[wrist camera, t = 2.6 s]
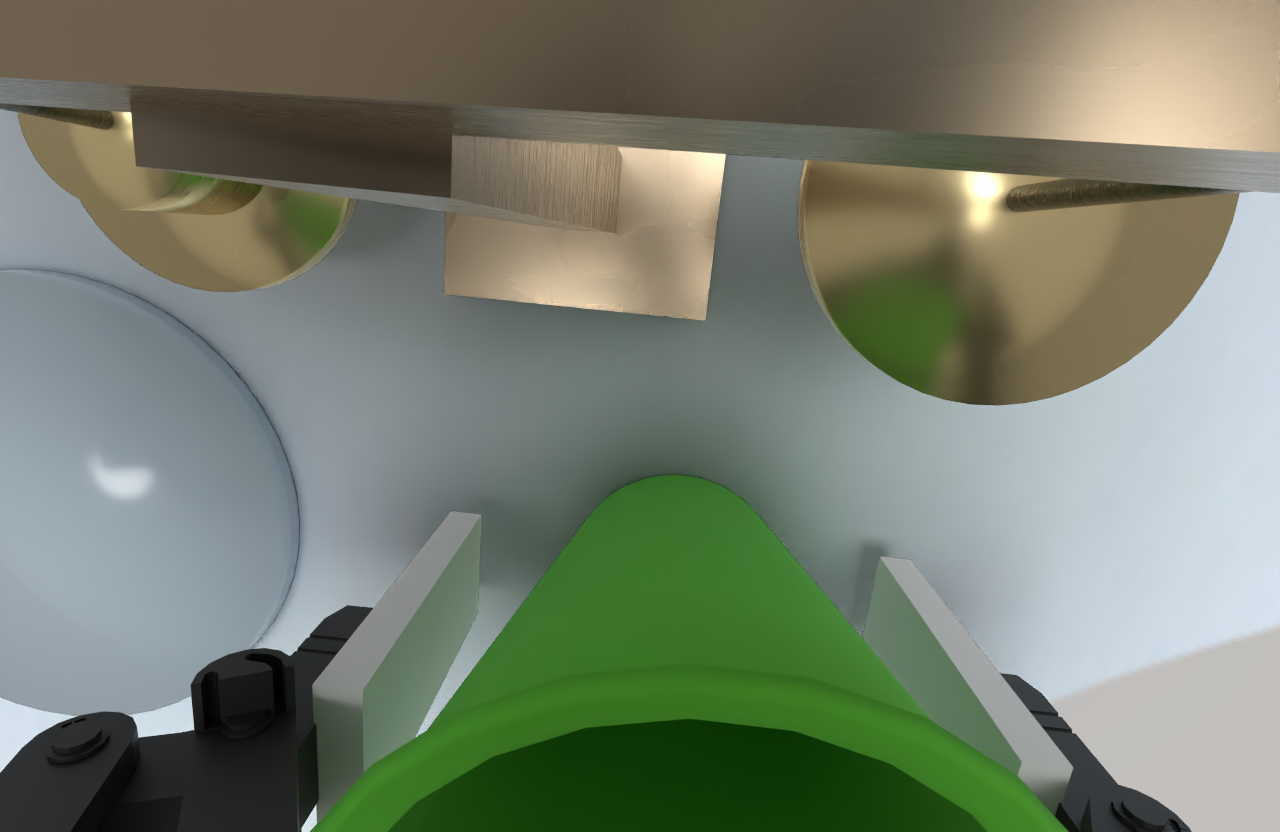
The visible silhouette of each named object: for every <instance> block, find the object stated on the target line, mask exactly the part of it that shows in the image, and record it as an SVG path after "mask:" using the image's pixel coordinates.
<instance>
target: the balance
mask: <svg viewBox="0 0 1280 832" xmlns="http://www.w3.org/2000/svg"><path fill="white" fill-rule="evenodd" d="M0 109H3V110H8V111H13V112H17V113H18V118H19V123H20V126H21V129H22V132H23V135H24V137H25V140H26V142H27V144H28V146H29V148H30V150H31V152H32V154H33V155H34V157H35V159H36V160H37V161H38V163H39V164H40V166H41V167H42V168H43V169H44V171H45V172H46V173H47V174H48V175H49V176H50V177H51V178H52V179H53V180H54V181H55V182H56V183H57V184H58V185H59V186H61V187H62V188H63V189H65V190H66V191H67V192H69V193H70V194H72V195H74V196H75V197H77V198H79V199H80V201H81V203H82V205H83V206H84V208H85V209H86V211H87V212H88V213H89V215H90V216H91V218H92V219H93V221H94V222H95V223H96V224H97V226H98V227H99V228H100V229H101V230H102V231H103V232H104V234H105V235H106V236H107V237H108V238H109V239H110V240H111V241H112V242H113V243H114V244H115V245H116V246H117V247H118V248H120V249H121V250H122V251H123V252H124V253H125V254H126V255H128V256H129V257H130V258H132V259H133V260H135V261H136V262H137V263H139V264H140V265H141V266H143V267H145V268H147V269H148V270H150V271H152V272H153V273H155V274H157V275H159V276H161V277H163V278H166V279H168V280H170V281H173V282H175V283H178V284H181V285H185V286H188V287H191V288H195V289H201V290H207V291H217V292H234V291H244V290H254V289H263V288H268V287H272V286H276V285H280V284H283V283H285V282H287V281H290V280H292V279H295V278H297V277H299V276H300V275H302V274H304V273H305V272H307V271H309V270H310V269H312V268H313V267H314V266H315V265H316V264H318V263H319V262H320V261H321V260H322V259H324V258H325V256H326V255H327V254H328V253H329V252H330V251H331V250H332V249H333V248H334V247H335V245H336V244H337V242H338V241H339V239H340V238H341V236H342V235H343V233H344V232H345V230H346V228H347V226H348V224H349V222H350V219H351V217H352V215H353V212H354V209H355V206H356V203H357V200H358V199H361V200H367V201H374V202H381V203H388V204H394V205H401V206H408V207H415V208H422V209H428V210H435V211H442V212H446V216H445V264H444V294H449V295H458V296H468V297H478V298H488V299H497V300H507V301H517V302H527V303H537V304H546V305H556V306H566V307H576V308H585V309H595V310H605V311H615V312H625V313H634V314H644V315H654V316H664V317H673V318H683V319H693V320H703V321H705V320H706V312H707V304H708V295H709V287H710V279H711V271H712V263H713V255H714V247H715V239H716V230H717V222H718V214H719V206H720V198H721V190H722V182H723V173H724V165H725V157H726V154H730V155H744V156H759V157H773V158H787V159H802V160H804V164H803V169H802V174H801V178H800V184H799V196H798V207H797V215H798V237H799V243H800V249H801V255H802V261H803V264H804V268H805V271H806V274H807V277H808V281H809V284H810V287H811V289H812V291H813V293H814V295H815V297H816V299H817V302H818V304H819V306H820V308H821V310H822V311H823V313H824V314H825V316H826V317H827V319H828V320H829V322H830V323H831V325H832V327H833V328H834V329H835V330H836V332H837V333H838V334H839V335H840V336H841V337H842V338H843V340H844V341H845V342H846V343H847V344H848V345H849V346H850V347H851V348H852V349H853V350H854V351H855V352H856V353H858V354H859V355H860V356H861V357H862V358H863V359H865V360H866V361H867V362H868V363H870V364H871V365H873V366H874V367H876V368H878V369H879V370H881V371H882V372H884V373H885V374H887V375H889V376H890V377H892V378H894V379H895V380H897V381H899V382H901V383H903V384H905V385H907V386H909V387H911V388H914V389H916V390H918V391H920V392H922V393H925V394H928V395H932V396H935V397H938V398H941V399H945V400H949V401H955V402H961V403H967V404H976V405H1008V404H1019V403H1027V402H1032V401H1037V400H1041V399H1046V398H1051V397H1054V396H1057V395H1060V394H1063V393H1066V392H1069V391H1072V390H1075V389H1078V388H1080V387H1082V386H1084V385H1086V384H1088V383H1091V382H1093V381H1095V380H1097V379H1099V378H1101V377H1103V376H1105V375H1107V374H1108V373H1110V372H1111V371H1113V370H1115V369H1116V368H1118V367H1120V366H1121V365H1123V364H1125V363H1126V362H1128V361H1129V360H1130V359H1132V358H1133V357H1134V356H1136V355H1137V354H1138V353H1140V352H1141V351H1142V350H1143V349H1145V348H1146V347H1147V346H1149V345H1150V344H1151V343H1152V342H1153V341H1154V340H1155V339H1156V338H1157V337H1158V336H1159V335H1161V334H1162V333H1163V332H1164V331H1165V330H1166V329H1167V328H1168V327H1169V326H1170V325H1171V324H1172V323H1173V322H1174V321H1175V319H1176V318H1177V317H1178V316H1179V315H1180V313H1181V312H1182V311H1183V310H1184V309H1185V307H1186V306H1187V305H1188V304H1189V303H1190V302H1191V300H1192V299H1193V297H1194V296H1195V294H1196V293H1197V291H1198V290H1199V288H1200V287H1201V285H1202V284H1203V282H1204V281H1205V279H1206V278H1207V276H1208V275H1209V273H1210V271H1211V269H1212V267H1213V265H1214V263H1215V261H1216V259H1217V257H1218V255H1219V253H1220V252H1221V250H1222V247H1223V245H1224V242H1225V239H1226V237H1227V234H1228V232H1229V229H1230V226H1231V224H1232V221H1233V217H1234V213H1235V209H1236V205H1237V201H1238V197H1239V193H1241V192H1252V191H1259V192H1273V193H1280V0H0Z"/></svg>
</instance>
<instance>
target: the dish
mask: <svg viewBox="0 0 1280 832" xmlns="http://www.w3.org/2000/svg"><path fill="white" fill-rule="evenodd" d="M298 550H299V514H298V505H297V496H296V491H295V487H294V483H293V479H292V475H291V471H290V467H289V465H288V462H287V459H286V457H285V454H284V451H283V449H282V446H281V444H280V441H279V439H278V437H277V435H276V433H275V431H274V429H273V427H272V425H271V424H270V422H269V420H268V418H267V416H266V414H265V412H264V411H263V409H262V408H261V406H260V405H259V403H258V402H257V400H256V399H255V397H254V396H253V395H252V393H251V392H250V390H249V389H248V387H247V386H246V384H245V383H244V382H243V381H242V380H241V379H240V378H239V376H238V375H237V374H236V373H235V372H234V371H233V369H232V368H231V367H230V366H229V365H228V364H227V363H226V361H225V360H224V359H223V358H222V357H221V356H220V355H218V354H217V353H216V352H215V351H214V350H213V349H212V348H211V347H210V346H209V345H208V344H207V343H205V342H204V341H203V340H202V339H201V338H200V337H199V336H198V335H196V334H195V333H194V332H192V331H191V330H189V329H188V328H187V327H185V326H184V325H183V324H181V323H180V322H179V321H177V320H176V319H175V318H173V317H172V316H170V315H168V314H167V313H165V312H163V311H162V310H160V309H158V308H156V307H155V306H153V305H151V304H149V303H148V302H146V301H144V300H143V299H140V298H138V297H136V296H134V295H131V294H129V293H127V292H124V291H122V290H120V289H117V288H115V287H113V286H110V285H107V284H104V283H100V282H97V281H94V280H90V279H87V278H84V277H80V276H76V275H70V274H64V273H58V272H52V271H41V270H0V697H1V698H4V699H6V700H9V701H11V702H14V703H17V704H21V705H24V706H28V707H32V708H35V709H39V710H43V711H48V712H54V713H60V714H66V715H72V716H80V715H84V714H90V713H96V712H102V711H107V712H121V713H124V714H126V715H131V714H137V713H142V712H147V711H153V710H156V709H159V708H162V707H165V706H168V705H171V704H174V703H177V702H179V701H181V700H183V699H185V698H187V697H189V696H191V683H192V681H193V680H194V678H195V676H196V674H197V673H198V672H199V671H201V670H202V669H203V668H204V667H206V666H207V665H208V664H209V663H211V662H213V661H215V660H217V659H219V658H221V657H223V656H226V655H228V654H232V653H236V652H239V651H243V650H248V649H250V648H251V647H252V646H253V645H254V644H255V643H256V642H257V641H258V640H259V639H260V638H261V637H262V635H263V634H264V633H265V631H266V630H267V629H268V628H269V626H270V625H271V624H272V622H273V621H274V620H275V618H276V616H277V614H278V612H279V610H280V608H281V607H282V605H283V603H284V601H285V599H286V597H287V594H288V591H289V588H290V585H291V582H292V579H293V576H294V572H295V567H296V561H297V556H298Z"/></svg>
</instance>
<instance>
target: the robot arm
mask: <svg viewBox="0 0 1280 832" xmlns="http://www.w3.org/2000/svg"><path fill="white" fill-rule="evenodd" d="M481 523H482V514H474V513H464V512H455V511H451V512H450V513H449V514H448V516H447V517H446V518H445V519H444V521H443V522H442V523H441V524H440V526H439V527H438V528H437V529H436V531H435V532H434V533H433V534H432V536H431V537H430V538H429V539H428V541H427V542H426V543H425V544H424V546H423V547H422V548H421V549H420V551H419V552H418V553H417V554H416V556H415V557H414V558H413V559H412V561H411V562H410V563H409V564H408V566H407V567H406V568H405V569H404V571H403V572H402V573H401V574H400V576H399V577H398V578H397V580H396V581H395V582H394V583H393V585H392V586H391V587H390V588H389V590H388V591H387V592H386V593H385V595H384V596H383V597H382V598H381V600H380V601H379V602H378V603H377V605H376V606H375V607H374V608H368V607H358V606H349V605H348V606H346V607H344V608H342V609H340V610H339V611H337V612H335V613H333V614H332V615H330V616H328V617H326V618H325V619H324V620H323V621H322V622H321V623H320V624H319V625H318V626H317V628H316V629H315V630H314V631H313V632H312V633H311V634H310V637H309V638H307V639H306V640H305V641H304V642H303V643H302V644H301V645H300V646H299V647H298V650H297V652H296V651H295V652H294V653H293V654H292V655H291V656H288V655H287V654H285V653H283V652H282V651H279V650H273V649H267V648H261V649H248V650H243V651H239V652H236V653H232V654H228V655H226V656H223V657H221V658H219V659H217V660H215V661H213V662H211V663H209V664H208V665H207V666H206V667H204V668H203V669H202V670H201V671H199V672H198V673H197V674H196V676H195V678H194V680H193V681H192V683H191V696H192V707H193V718H194V729H195V730H192V731H187V732H182V733H174V734H166V735H157V736H149V737H141V738H138V732H137V726H136V724H135V722H134V719H133V718H132V717H130V716H128V715H126V714H124V713H121V712H107V711H102V712H96V713H90V714H84V715H80V716H77V717H74V718H72V719H68V720H66V721H63V722H60V723H58V724H56V725H54V726H52V727H51V728H49V729H47V730H45V731H43V732H41V733H40V734H38V735H37V736H36V737H34V738H33V739H32V740H31V741H30V742H29V743H27V744H26V745H25V746H24V747H23V748H22V749H21V750H20V751H19V752H18V753H17V754H16V756H15V757H14V758H13V759H12V760H11V761H10V762H9V764H8V765H7V766H6V767H5V768H4V769H3V770H2V772H1V773H0V832H301V828H302V826H303V825H304V823H305V821H306V820H307V818H308V817H309V815H310V813H311V812H312V810H313V809H314V807H315V805H316V807H317V823H318V822H319V821H320V820H321V819H322V818H323V817H324V816H325V815H326V814H327V813H328V812H329V811H330V809H331V808H332V807H333V806H334V805H335V804H336V803H337V802H338V801H339V800H340V799H341V798H342V796H343V795H344V794H345V793H346V792H347V791H348V790H349V789H350V788H351V787H352V786H353V785H354V784H355V782H356V781H357V780H358V779H359V778H360V777H361V776H362V775H363V774H364V773H365V772H366V771H367V770H368V768H369V767H370V766H371V765H372V764H374V763H375V762H377V761H379V760H380V759H382V758H383V757H385V756H387V755H388V754H390V753H392V752H393V751H395V750H396V749H398V748H400V747H401V746H403V745H405V744H406V743H408V742H409V741H411V740H413V739H414V738H415V736H416V734H417V732H418V730H419V728H420V726H421V725H422V723H423V721H424V719H425V717H426V715H427V713H428V711H429V709H430V707H431V705H432V703H433V701H434V699H435V697H436V695H437V693H438V691H439V689H440V687H441V685H442V683H443V681H444V679H445V677H446V675H447V673H448V671H449V669H450V667H451V665H452V663H453V661H454V659H455V657H456V655H457V653H458V651H459V649H460V647H461V645H462V643H463V641H464V640H465V638H466V636H467V634H468V632H469V630H470V628H471V626H472V624H473V622H474V620H475V618H476V616H477V614H478V600H479V574H480V548H481ZM862 639H863V640H864V641H865V642H866V643H867V644H868V646H869V647H870V648H871V649H872V650H873V652H874V653H875V654H876V655H877V656H878V657H879V659H880V660H881V661H882V662H883V663H884V665H885V666H886V667H887V668H888V669H889V671H890V672H891V673H892V674H893V675H894V676H895V678H896V679H897V680H898V681H899V682H900V684H901V685H902V686H903V687H904V688H905V689H906V691H907V692H908V693H909V694H910V695H911V697H912V698H913V699H914V700H915V701H916V703H917V704H918V705H919V706H920V707H921V708H922V710H923V711H924V712H925V713H926V714H927V716H928V717H929V718H930V719H931V720H932V721H933V722H934V723H935V724H937V725H938V726H940V727H942V728H943V729H945V730H946V731H948V732H949V733H951V734H953V735H954V736H956V737H957V738H959V739H960V740H962V741H964V742H965V743H967V744H968V745H970V746H971V747H973V748H975V749H976V750H978V751H979V752H981V753H982V754H984V755H986V756H987V757H989V758H990V759H992V760H993V761H995V762H997V763H998V764H1000V765H1001V766H1003V767H1004V768H1006V769H1008V770H1009V771H1011V772H1012V773H1014V774H1015V775H1017V776H1018V777H1019V778H1020V779H1021V780H1022V781H1023V782H1024V783H1025V784H1026V785H1027V786H1028V788H1029V789H1030V790H1031V791H1032V792H1033V793H1034V794H1035V795H1036V796H1037V797H1038V799H1039V800H1040V801H1041V802H1042V803H1043V804H1044V805H1045V806H1046V807H1047V808H1048V810H1049V811H1050V812H1051V813H1052V814H1053V815H1054V816H1055V817H1056V818H1057V819H1058V821H1059V822H1060V823H1061V824H1062V825H1063V826H1064V827H1065V828H1066V829H1067V830H1068V831H1069V832H1191V830H1190V828H1189V827H1188V826H1187V825H1186V824H1185V823H1184V822H1183V821H1182V820H1181V819H1180V818H1179V817H1178V816H1177V815H1176V814H1175V813H1173V812H1172V811H1171V810H1169V809H1168V808H1167V807H1165V806H1164V805H1162V804H1161V803H1160V802H1158V801H1157V800H1155V799H1153V798H1151V797H1149V796H1147V795H1145V794H1143V793H1141V792H1139V791H1136V790H1133V789H1130V788H1127V787H1124V786H1121V785H1118V784H1117V783H1116V782H1115V780H1114V779H1113V778H1112V777H1111V776H1110V774H1109V773H1108V772H1107V771H1106V770H1105V768H1104V767H1103V766H1102V765H1101V764H1100V763H1099V761H1098V760H1097V759H1096V758H1095V757H1094V755H1093V754H1092V753H1091V752H1090V750H1089V749H1088V748H1087V747H1086V746H1085V745H1084V743H1083V742H1082V741H1081V740H1080V739H1079V737H1078V736H1077V735H1076V734H1073V733H1072V729H1071V728H1070V727H1069V726H1068V724H1067V723H1066V722H1065V721H1064V720H1063V718H1062V717H1058V712H1057V711H1056V710H1055V709H1054V708H1053V706H1052V705H1051V704H1050V703H1049V702H1048V701H1047V699H1046V698H1045V697H1044V696H1043V695H1042V693H1040V692H1039V691H1038V690H1036V689H1035V688H1033V687H1032V686H1031V685H1029V684H1028V683H1027V682H1025V681H1024V680H1023V679H1021V678H1020V677H1019V676H1017V675H1010V674H1001V673H999V672H998V670H997V669H996V668H995V667H994V665H993V664H992V663H991V662H990V660H989V659H988V658H987V656H986V655H985V654H984V653H983V651H982V650H981V649H980V647H979V646H978V645H977V644H976V642H975V641H974V640H973V639H972V637H971V636H970V635H969V633H968V632H967V631H966V630H965V628H964V627H963V626H962V624H961V623H960V622H959V621H958V619H957V618H956V617H955V616H954V614H953V613H952V612H951V610H950V609H949V608H948V607H947V605H946V604H945V603H944V601H943V600H942V599H941V598H940V596H939V595H938V594H937V593H936V591H935V590H934V589H933V587H932V586H931V585H930V584H929V582H928V581H927V580H926V578H925V577H924V576H923V575H922V573H921V572H920V571H919V570H918V568H917V567H916V566H915V564H914V563H913V562H912V561H911V560H909V559H900V558H891V557H881V556H880V557H879V562H878V567H877V572H876V576H875V581H874V586H873V591H872V596H871V600H870V605H869V610H868V615H867V619H866V624H865V629H864V634H863V638H862Z"/></svg>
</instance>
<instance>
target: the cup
mask: <svg viewBox="0 0 1280 832" xmlns="http://www.w3.org/2000/svg"><path fill="white" fill-rule="evenodd" d="M310 832H1069V831H1068V830H1067V829H1066V828H1065V827H1064V826H1063V825H1062V824H1061V823H1060V822H1059V821H1058V819H1057V818H1056V817H1055V816H1054V815H1053V814H1052V813H1051V812H1050V811H1049V810H1048V808H1047V807H1046V806H1045V805H1044V804H1043V803H1042V802H1041V801H1040V800H1039V799H1038V797H1037V796H1036V795H1035V794H1034V793H1033V792H1032V791H1031V790H1030V789H1029V788H1028V786H1027V785H1026V784H1025V783H1024V782H1023V781H1022V780H1021V779H1020V778H1019V777H1018V776H1017V775H1015V774H1014V773H1012V772H1011V771H1009V770H1008V769H1006V768H1004V767H1003V766H1001V765H1000V764H998V763H997V762H995V761H993V760H992V759H990V758H989V757H987V756H986V755H984V754H982V753H981V752H979V751H978V750H976V749H975V748H973V747H971V746H970V745H968V744H967V743H965V742H964V741H962V740H960V739H959V738H957V737H956V736H954V735H953V734H951V733H949V732H948V731H946V730H945V729H943V728H942V727H940V726H938V725H937V724H935V723H934V722H933V721H932V720H931V719H930V718H929V717H928V716H927V714H926V713H925V712H924V711H923V710H922V708H921V707H920V706H919V705H918V704H917V703H916V701H915V700H914V699H913V698H912V697H911V695H910V694H909V693H908V692H907V691H906V689H905V688H904V687H903V686H902V685H901V684H900V682H899V681H898V680H897V679H896V678H895V676H894V675H893V674H892V673H891V672H890V671H889V669H888V668H887V667H886V666H885V665H884V663H883V662H882V661H881V660H880V659H879V657H878V656H877V655H876V654H875V653H874V652H873V650H872V649H871V648H870V647H869V646H868V644H867V643H866V642H865V641H864V640H863V639H862V637H861V636H860V635H859V634H858V633H857V631H856V630H855V629H854V628H853V627H852V625H851V624H850V623H849V622H848V621H847V620H846V618H845V617H844V616H843V615H842V614H841V612H840V611H839V610H838V609H837V608H836V607H835V605H834V604H833V603H832V602H831V601H830V599H829V598H828V597H827V596H826V595H825V593H824V592H823V591H822V590H821V589H820V588H819V586H818V585H817V584H816V583H815V582H814V580H813V579H812V578H811V577H810V576H809V575H808V573H807V572H806V571H805V570H804V569H803V567H802V566H801V565H800V564H799V563H798V561H797V560H796V559H795V558H794V557H793V556H792V554H791V553H790V552H789V551H788V550H787V548H786V547H785V546H784V545H783V544H782V543H781V541H780V540H779V539H778V538H777V537H776V535H775V534H774V533H773V532H772V531H771V529H770V528H769V527H768V526H767V525H766V524H765V522H764V521H763V520H762V519H761V518H760V517H759V515H758V514H757V513H756V512H755V511H754V510H753V509H752V508H751V507H750V506H749V505H748V503H747V502H746V501H745V500H744V499H742V498H741V497H739V496H738V495H736V494H735V493H733V492H732V491H730V490H729V489H727V488H725V487H724V486H722V485H719V484H716V483H713V482H711V481H708V480H705V479H702V478H700V477H691V476H683V475H674V474H673V475H665V476H656V477H648V478H645V479H642V480H639V481H637V482H634V483H631V484H628V485H625V486H624V487H622V488H621V489H619V490H617V491H616V492H614V493H613V494H611V495H610V496H608V497H607V498H605V499H604V500H603V501H602V502H601V503H600V504H599V505H598V506H597V507H596V509H595V510H594V511H593V512H592V513H591V514H590V515H589V516H588V517H587V519H586V520H585V521H584V523H583V524H582V525H581V527H580V528H579V529H578V531H577V532H576V533H575V535H574V536H573V537H572V539H571V540H570V541H569V543H568V544H567V545H566V547H565V548H564V549H563V551H562V552H561V553H560V555H559V556H558V557H557V558H556V560H555V561H554V562H553V564H552V565H551V566H550V568H549V569H548V570H547V572H546V573H545V574H544V576H543V577H542V578H541V580H540V581H539V582H538V584H537V585H536V586H535V588H534V589H533V590H532V592H531V593H530V594H529V596H528V597H527V598H526V600H525V601H524V602H523V604H522V605H521V606H520V608H519V609H518V610H517V612H516V613H515V614H514V616H513V617H512V618H511V620H510V621H509V622H508V623H507V625H506V626H505V627H504V629H503V630H502V631H501V633H500V634H499V635H498V637H497V638H496V639H495V641H494V642H493V643H492V645H491V646H490V647H489V649H488V650H487V651H486V653H485V654H484V655H483V657H482V658H481V659H480V661H479V662H478V663H477V665H476V666H475V667H474V669H473V670H472V671H471V673H470V674H469V675H468V677H467V678H466V679H465V681H464V682H463V683H462V685H461V686H460V687H459V688H458V690H457V691H456V692H455V694H454V695H453V696H452V698H451V699H450V700H449V702H448V703H447V704H446V706H445V707H444V708H443V710H442V711H441V712H440V714H439V715H438V716H437V718H436V719H435V720H434V722H433V723H432V724H431V726H430V727H429V728H428V730H427V731H426V732H424V733H422V734H421V735H419V736H418V737H416V738H414V739H413V740H411V741H409V742H408V743H406V744H405V745H403V746H401V747H400V748H398V749H396V750H395V751H393V752H392V753H390V754H388V755H387V756H385V757H383V758H382V759H380V760H379V761H377V762H375V763H374V764H372V765H371V766H370V767H369V768H368V770H367V771H366V772H365V773H364V774H363V775H362V776H361V777H360V778H359V779H358V780H357V781H356V782H355V784H354V785H353V786H352V787H351V788H350V789H349V790H348V791H347V792H346V793H345V794H344V795H343V796H342V798H341V799H340V800H339V801H338V802H337V803H336V804H335V805H334V806H333V807H332V808H331V809H330V811H329V812H328V813H327V814H326V815H325V816H324V817H323V818H322V819H321V820H320V821H319V822H318V823H317V825H316V826H315V827H314V828H313V829H312V830H311V831H310Z"/></svg>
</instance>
